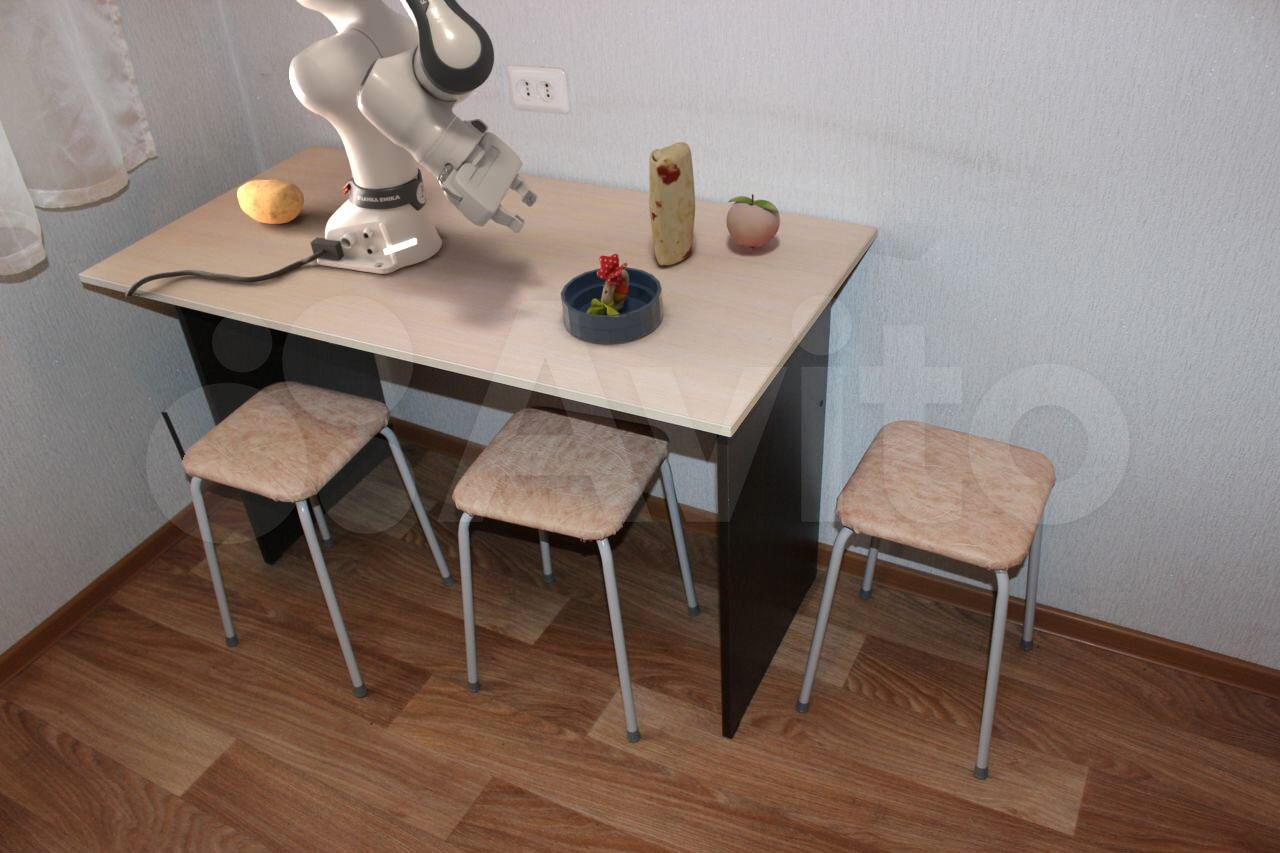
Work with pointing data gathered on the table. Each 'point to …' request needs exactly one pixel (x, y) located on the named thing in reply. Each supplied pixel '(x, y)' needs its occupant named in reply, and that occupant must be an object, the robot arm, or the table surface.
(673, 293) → the table surface
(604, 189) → the table surface
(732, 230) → the decorative fruit
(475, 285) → the table surface
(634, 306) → the bowl
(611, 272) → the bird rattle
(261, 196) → the potato
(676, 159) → the food model
